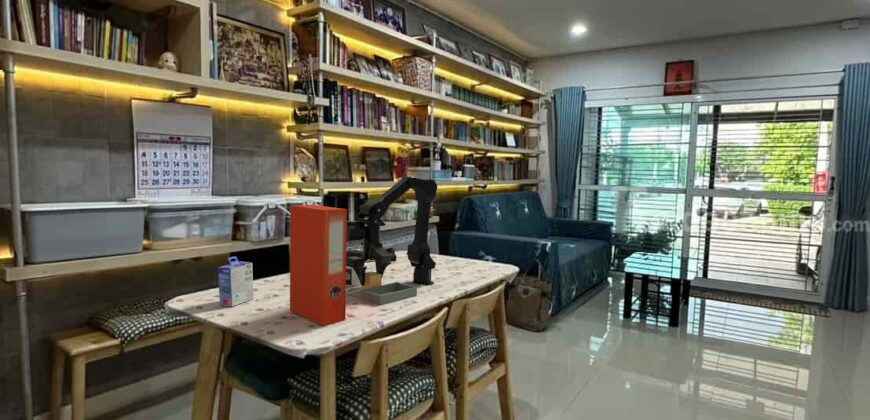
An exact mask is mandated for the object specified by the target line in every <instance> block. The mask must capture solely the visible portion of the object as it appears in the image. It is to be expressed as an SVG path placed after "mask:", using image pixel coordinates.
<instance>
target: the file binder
mask: <svg viewBox="0 0 870 420" xmlns="http://www.w3.org/2000/svg"><path fill="white" fill-rule="evenodd" d="M289 209H290V210H289V214H290V215H289V216H290V217H289V218H290V219H289V220H290V221H289V225H290V226H289V235H290V236H289V266H290V267H289V312H292V313H293V314H296V315H298V316H300V317H303V318H305V319H307V320H309V321H312V322H314V323H316V324H318V325H321V326H326V325H331V324H335V323H339V322H343V321H345V320H346V304H347V303H346V300H347V299H346V297H347V296H346V295H347V294H346V289H347V287H346V251H347V242H346V239H347V221H348V217H347V216H348V209H346V208H340V207H339V208H338V207H332V206H324V205H319V204H318V205H316V204H298V205H297V204H295V205H290V206H289Z"/></svg>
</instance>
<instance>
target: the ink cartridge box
mask: <svg viewBox="0 0 870 420" xmlns="http://www.w3.org/2000/svg"><path fill="white" fill-rule="evenodd" d="M231 260H232V261H231ZM227 261H228V264H225V265H222V266H218V267H217V275H218V277H217V278H218V293H219V306H223V305H224V306H223V307H230V308H231V307H235V306H237V305H240V304H243V303H245V302H249V301H251V300H253V299H254V280H253V279H254V276H253V275H254V274H253V262H249V261H244V260H243V261H239V259H238V257H237V256H236V255H235V256H229V257H227Z"/></svg>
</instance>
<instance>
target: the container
mask: <svg viewBox="0 0 870 420" xmlns="http://www.w3.org/2000/svg"><path fill="white" fill-rule="evenodd" d="M362 253H363V249H362V250H361V249H359V248H358V249H355V248H353V249H348V250H347V249H346V258H347V257H354V256H356V257H360V258H363V257H361V254H362ZM365 267H367V269H366V270H365V273H366V272H368V263H365ZM357 286H361V283H360V281H359V279H358V276H357V274H356V272H355V271H354V269H353V268H351V267H348V266H346V288H349V287H357Z"/></svg>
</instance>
